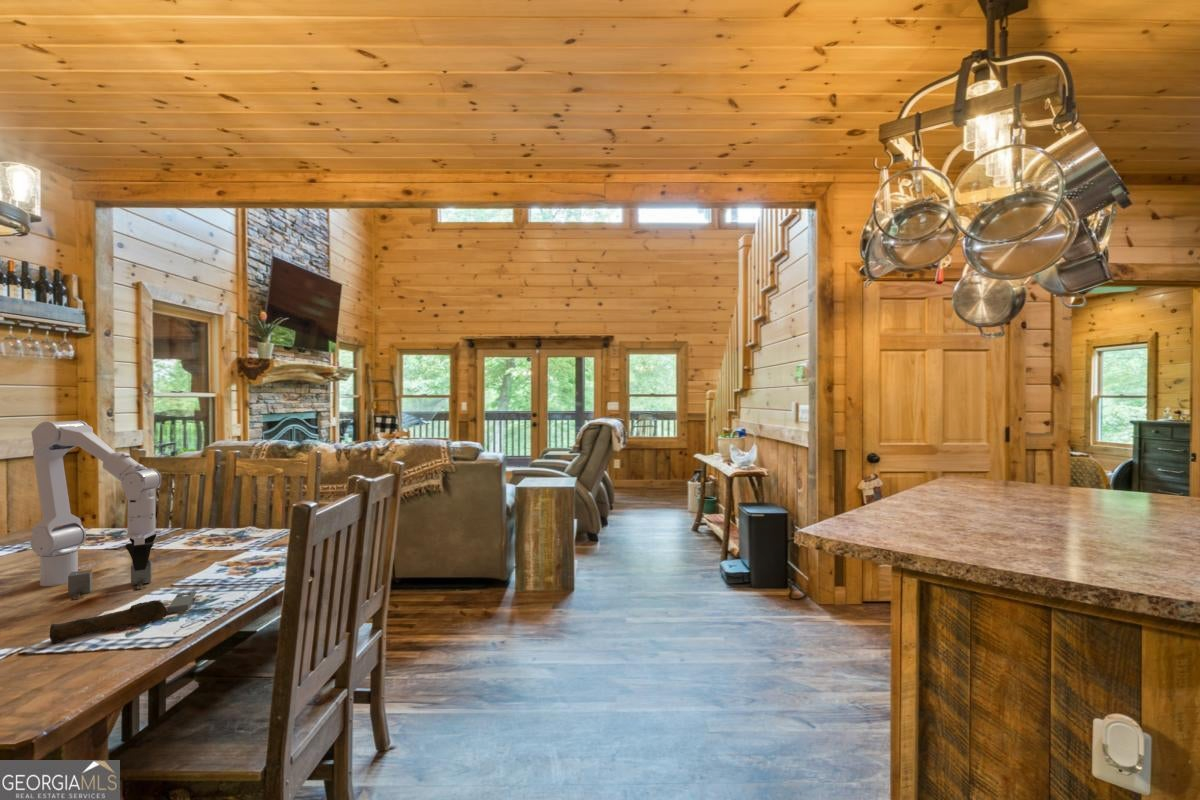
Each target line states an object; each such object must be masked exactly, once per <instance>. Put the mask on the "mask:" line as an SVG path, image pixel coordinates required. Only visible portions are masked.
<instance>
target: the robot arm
mask: <svg viewBox="0 0 1200 800" xmlns="http://www.w3.org/2000/svg"><path fill="white" fill-rule="evenodd" d="M93 429H94V428H93V427H92V425H88V423H87V422H85V421H84V420H80V419H78V420H77V419H76V420H69V421H67V420H66V421H65V420H63V421H43V422H40V423H38V425H37V426H36V427H35V428H34V429H33V430H32V431H31V432H30V433H31V439H32V444H33V445H32V447H33V451H32V457H33V464H34V469H35V475H36V477H35V478H36V483H37V489H38V491H37V492H38V496H39V497H38V498H39V503H40V510H41V520H39V522H38V523H36V524H35V525H34V526H33V527H32V528H31V530H32V531H31V532H32V537H31V539H30V548H31V551H33V553H35V554H36V556H37V557H39V586H40V587H53V586H61V585H65V584H68V576H69V574H70V573H71V572H76V571H79V554H78V552H79V551H78V550H80V549H81V545H83V544H84V543H85V540H86V539H87V532H86V530H85V528H84V526H83V524H82V520H81V518H80V517H78V516H76V515H74V514H72V512H71V507H70V506H71V505H70V500H69V498H70V497H69V494H68V493H69V491H68V484H67V479H66V472H65V465H64V456H65V455H66V454H67V453H69V452H70V451H71V450H72V449H74V448H76V447H79V448H80V449H82V450H84V451H85V452H87V453H88V454H90V455H91V456H94V457H95V458H96V459H98V460H100V461H101V462H102V468H103V469H104V470H105V471H106V472H108V473H109V474H110V475H112V476H113V477H114V478H116V479H117V480H119V481H120V485H121V488H122V489H123V492H124V493H125V498H126V500H127V532H126V538H129V539H128V540H129V541H130V543H126V544H125V549H126V550H127V552H128V553H129V555H130V558H131V561H132V562H133V566H134V569H135V571H138V570H145V569H146V566H147V561H148V560H150V554H151V550H152V548H153V546H154V544H155V542H154V541H155V539H156V537H157V534H160V533H161V532H162V529H160V528H157V529H156V492H157V491H156V489H157V488H159V487H160V486H161V484H162V476H161V473H160V472H159V471H158V469H156V468H152V467H151V468H148V467H146V466H145V465H143V464H142V463H139V462H138V461H136V460H135V459H134V458H133V457H131V454H130V453H129V452H123V451H117V452H116V451H115V450H113V449H112V448H111V447H110V446H109V445H108V444H107V443H106V442H104V440H103V439H101V438H100V437H99V436H97V434H96V433H94V430H93Z"/></svg>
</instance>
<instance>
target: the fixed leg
mask: <svg viewBox="0 0 1200 800" xmlns="http://www.w3.org/2000/svg"><path fill="white" fill-rule="evenodd" d="M92 589H93V569H87V570H78V571H76V572H71V573H70V574H69V576H68V583H67V597H69V596H70V597H71V596H73V597H72V600H73V601H76V600H79V599H80V598H81V595H83V594H90V593H91V592H92Z"/></svg>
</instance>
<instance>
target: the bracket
mask: <svg viewBox="0 0 1200 800" xmlns="http://www.w3.org/2000/svg"><path fill="white" fill-rule="evenodd" d="M196 594H197V590H194V591H189V592H180V593H179V592H178V593H177V595H176V596H175V597H174V598H173V600H172V601H171V603H170V604H169V605H168V607H167V614H168V613H170V614H173V613H172V612H177V613H181V612H180V611H184V612H187V611H186V610H188V609H189V610H190V608H191V606H192V605H193V604H194V602H195V601H196V599H197V597H195V596H196ZM192 603H193V604H192ZM189 610H188V611H189Z"/></svg>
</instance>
